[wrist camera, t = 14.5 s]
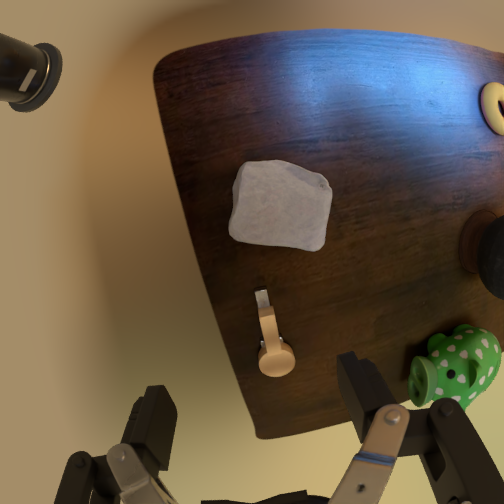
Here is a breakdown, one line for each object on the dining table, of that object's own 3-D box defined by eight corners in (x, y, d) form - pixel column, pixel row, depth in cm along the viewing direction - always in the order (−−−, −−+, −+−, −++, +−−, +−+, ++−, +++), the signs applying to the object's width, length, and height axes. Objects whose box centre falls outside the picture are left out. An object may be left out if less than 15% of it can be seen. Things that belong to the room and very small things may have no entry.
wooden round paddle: (246, 310, 39) (246, 320, 37) (284, 303, 39) (286, 311, 37) (261, 371, 42) (262, 381, 40) (295, 364, 42) (297, 374, 40)
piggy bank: (406, 330, 43) (451, 386, 29) (479, 303, 43) (527, 342, 29) (397, 388, 48) (428, 442, 33) (465, 359, 47) (502, 401, 33)
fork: (248, 289, 39) (248, 293, 38) (271, 284, 39) (272, 288, 38) (267, 368, 44) (268, 373, 43) (287, 364, 44) (288, 369, 43)
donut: (469, 80, 32) (477, 130, 34) (482, 72, 28) (492, 125, 29) (507, 95, 31) (514, 142, 33) (520, 89, 26) (529, 139, 28)
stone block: (235, 160, 36) (226, 239, 37) (237, 152, 31) (226, 242, 32) (325, 174, 37) (317, 249, 38) (339, 168, 32) (330, 254, 33)
